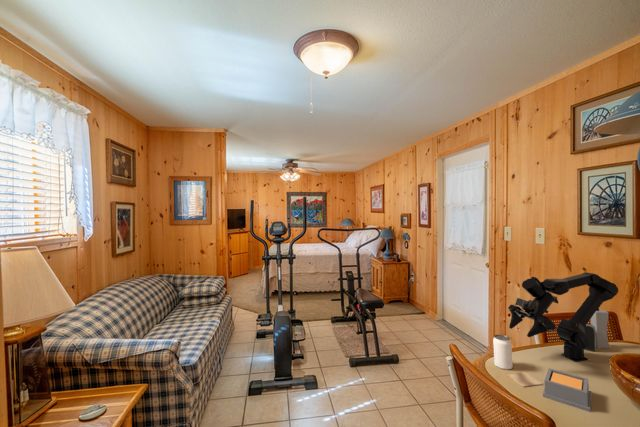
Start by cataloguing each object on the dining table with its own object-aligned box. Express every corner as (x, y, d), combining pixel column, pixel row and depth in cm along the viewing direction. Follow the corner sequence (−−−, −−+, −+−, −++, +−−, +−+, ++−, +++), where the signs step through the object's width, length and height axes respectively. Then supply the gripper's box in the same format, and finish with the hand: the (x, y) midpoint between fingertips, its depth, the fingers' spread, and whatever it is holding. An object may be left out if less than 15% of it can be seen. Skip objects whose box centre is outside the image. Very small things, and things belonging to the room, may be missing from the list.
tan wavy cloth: (524, 373, 114) (524, 372, 114) (542, 384, 106) (542, 383, 106) (506, 375, 113) (506, 374, 113) (523, 387, 105) (523, 386, 105)
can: (495, 360, 124) (494, 332, 125) (513, 364, 120) (511, 336, 120) (493, 366, 119) (491, 338, 120) (511, 371, 115) (510, 341, 115)
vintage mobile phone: (610, 348, 130) (607, 294, 131) (597, 348, 131) (594, 293, 132) (604, 345, 134) (601, 291, 134) (591, 344, 135) (589, 291, 135)
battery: (597, 349, 130) (595, 324, 130) (595, 352, 128) (594, 326, 128) (577, 344, 136) (575, 320, 136) (575, 347, 133) (573, 322, 133)
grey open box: (547, 381, 108) (546, 366, 108) (591, 394, 99) (590, 378, 99) (542, 396, 99) (542, 380, 99) (590, 412, 91) (589, 394, 91)
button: (553, 378, 105) (553, 372, 105) (582, 387, 99) (582, 380, 99) (550, 388, 99) (550, 381, 99) (581, 398, 94) (581, 390, 94)
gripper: (510, 286, 131) (489, 312, 130) (547, 297, 113) (524, 328, 111) (526, 302, 132) (506, 328, 131) (566, 315, 114) (543, 346, 112)
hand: (518, 332), depth 121 cm, fingers open, 9 cm apart
